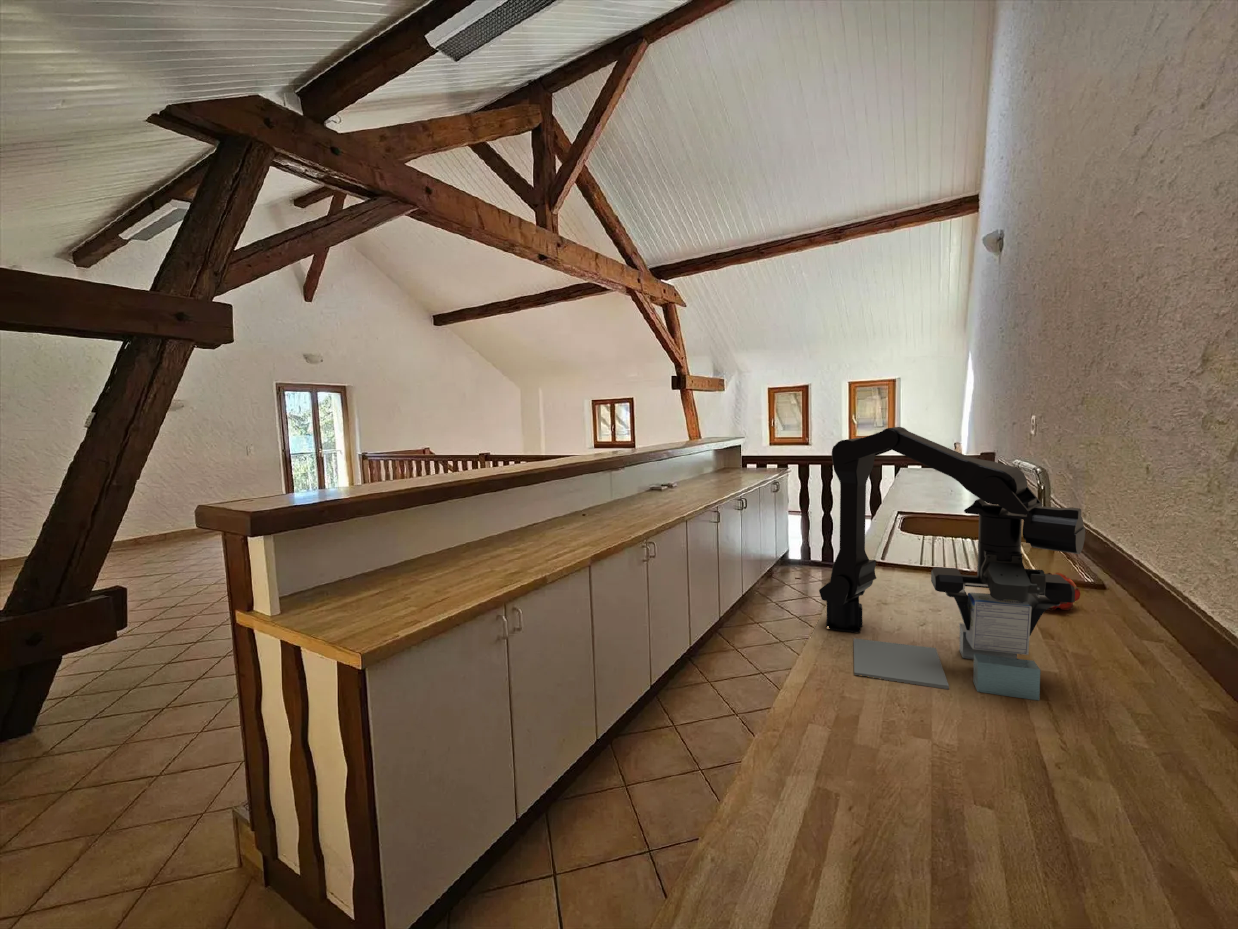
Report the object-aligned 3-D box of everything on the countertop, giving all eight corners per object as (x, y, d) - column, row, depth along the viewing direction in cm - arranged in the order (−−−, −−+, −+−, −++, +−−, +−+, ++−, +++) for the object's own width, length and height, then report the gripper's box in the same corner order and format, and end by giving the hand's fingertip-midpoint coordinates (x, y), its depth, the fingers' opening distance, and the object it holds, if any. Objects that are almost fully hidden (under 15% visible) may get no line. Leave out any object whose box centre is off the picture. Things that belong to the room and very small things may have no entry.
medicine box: (1018, 644, 88) (1021, 595, 87) (1029, 656, 84) (1032, 605, 83) (964, 638, 91) (967, 591, 90) (972, 650, 87) (974, 600, 86)
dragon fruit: (1038, 621, 110) (1055, 614, 117) (1082, 607, 105) (1097, 600, 112) (1012, 584, 114) (1030, 579, 121) (1053, 568, 109) (1070, 564, 116)
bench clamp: (977, 691, 83) (978, 662, 83) (953, 636, 102) (953, 611, 102) (1039, 700, 80) (1040, 669, 79) (1002, 641, 99) (1002, 616, 99)
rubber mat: (854, 675, 90) (854, 672, 90) (853, 641, 103) (853, 638, 102) (948, 689, 84) (948, 686, 84) (935, 651, 97) (935, 648, 97)
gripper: (941, 552, 82) (939, 646, 84) (1092, 560, 75) (1087, 663, 76) (931, 535, 92) (930, 619, 94) (1063, 540, 85) (1059, 632, 86)
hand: (996, 632), depth 87 cm, fingers closed on medicine box, 8 cm apart
